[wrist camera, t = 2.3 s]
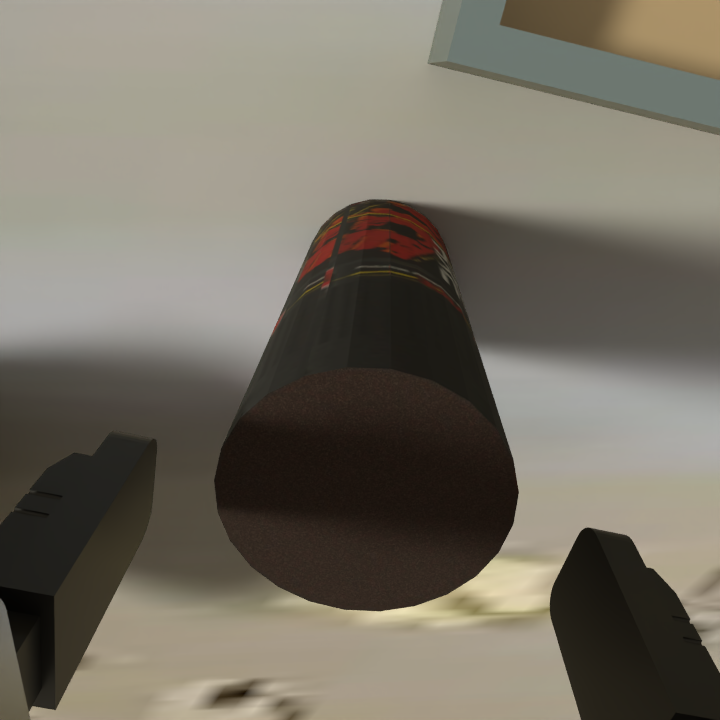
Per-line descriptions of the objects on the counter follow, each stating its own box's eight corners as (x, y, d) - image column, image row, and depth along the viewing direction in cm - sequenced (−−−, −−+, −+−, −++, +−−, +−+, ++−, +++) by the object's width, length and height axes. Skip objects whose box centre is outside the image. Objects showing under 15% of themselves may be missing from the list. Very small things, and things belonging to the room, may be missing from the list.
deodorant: (478, 261, 25) (583, 488, 11) (386, 360, 27) (384, 650, 14) (367, 167, 24) (337, 300, 10) (279, 280, 26) (158, 515, 12)
